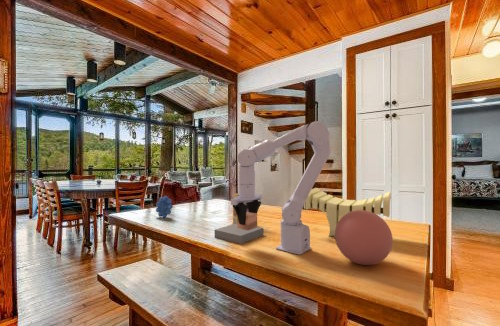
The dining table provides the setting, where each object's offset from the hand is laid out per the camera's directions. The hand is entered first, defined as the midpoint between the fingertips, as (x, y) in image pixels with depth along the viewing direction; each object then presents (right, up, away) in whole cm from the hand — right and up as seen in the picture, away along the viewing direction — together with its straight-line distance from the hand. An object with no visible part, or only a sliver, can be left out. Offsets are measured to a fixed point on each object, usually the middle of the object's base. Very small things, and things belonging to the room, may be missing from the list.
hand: (247, 222), depth 89 cm
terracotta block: (0, -2, 0) cm, 2 cm away
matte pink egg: (+35, -8, -13) cm, 38 cm away
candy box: (-2, -9, +30) cm, 32 cm away
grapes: (-46, -9, +50) cm, 68 cm away
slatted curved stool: (+41, -8, +13) cm, 44 cm away
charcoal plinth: (-3, -9, +13) cm, 16 cm away
